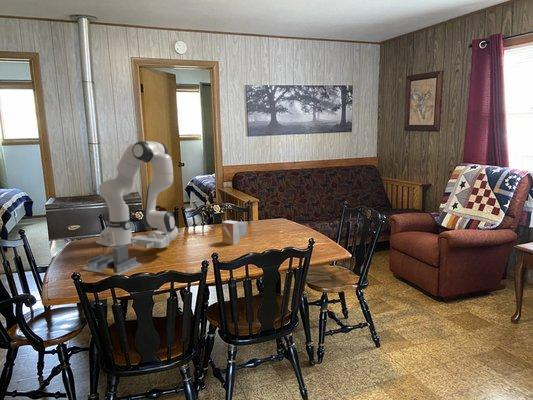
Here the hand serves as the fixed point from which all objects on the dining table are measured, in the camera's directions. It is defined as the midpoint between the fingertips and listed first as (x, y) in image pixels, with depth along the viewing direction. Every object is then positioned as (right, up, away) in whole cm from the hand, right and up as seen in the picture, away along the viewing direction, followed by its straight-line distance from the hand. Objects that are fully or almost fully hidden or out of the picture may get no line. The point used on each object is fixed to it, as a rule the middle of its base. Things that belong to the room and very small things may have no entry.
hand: (138, 245), depth 204 cm
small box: (+45, -2, +33) cm, 56 cm away
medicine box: (+49, 0, +49) cm, 69 cm away
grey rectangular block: (-5, -9, -10) cm, 15 cm away
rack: (-10, -10, -8) cm, 16 cm away
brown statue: (-1, 0, +47) cm, 47 cm away
